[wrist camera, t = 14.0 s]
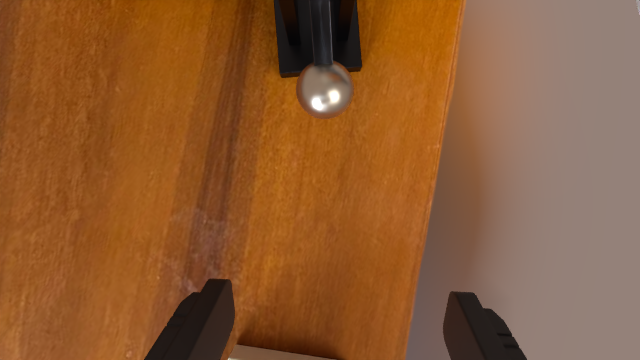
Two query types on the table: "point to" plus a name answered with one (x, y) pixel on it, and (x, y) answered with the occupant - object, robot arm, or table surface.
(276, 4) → the switch bracket
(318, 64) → the switch lever
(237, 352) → the switch box
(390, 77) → the table surface
